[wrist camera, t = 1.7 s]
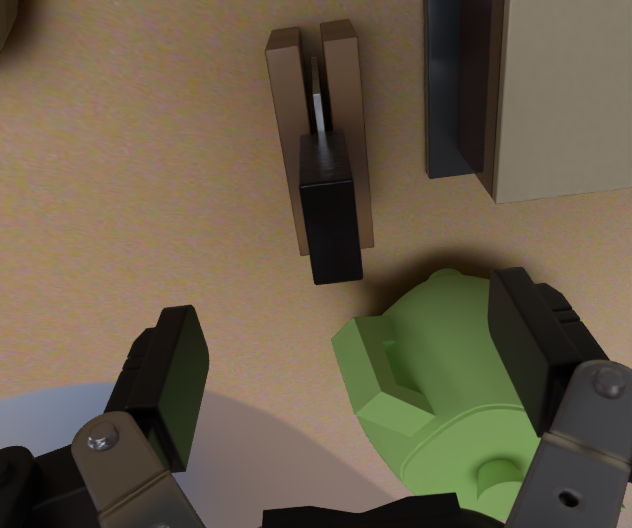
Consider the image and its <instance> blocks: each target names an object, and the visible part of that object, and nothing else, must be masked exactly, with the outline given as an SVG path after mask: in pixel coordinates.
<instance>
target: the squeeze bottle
mask: <svg viewBox="0 0 632 528" xmlns="http://www.w3.org/2000/svg"><path fill="white" fill-rule="evenodd" d="M17 15H18V1H17V0H0V52H1V50H2V48H3V46H4V44H5V41H6V39H7V37H8V35H9V33H10V30H11V28H12V26H13V24H14V21H15V19H16V17H17Z"/></svg>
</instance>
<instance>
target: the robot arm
mask: <svg viewBox="0 0 632 528" xmlns="http://www.w3.org/2000/svg"><path fill="white" fill-rule="evenodd" d="M487 318H488V327H489V332H490V336H491V338H492V341H493V343H494V345H495V347H496V349H497V352H498V354H499V356H500V358H501V360H502V362H503V364H504V367H505V369H506V371H507V373H508V375H509V377H510V379H511V382H512V384H513V386H514V388H515V390H516V392H517V394H518V397H519V399H520V401H521V403H522V405H523V407H524V410H525V412H526V414H527V416H528V418H529V420H530V422H531V425H532V427H533V429H534V431H535V433H536V435H537V437H538V438H541V440H540V442H539V445H538V447H537V450H536V452H535V454H534V457H533V459H532V461H531V464H530V466H529V469H528V471H527V473H526V476H525V478H524V480H523V483H522V485H521V487H520V490H519V492H518V495H517V497H516V499H515V502H514V504H513V506H512V509H511V511H510V514H509V516H508V518H507V521H506V523H505V524H504V523H502V522H501V521H499V520H497V519H495V518H493V517H491V516H488V515H486V514H483V513H481V512H477V511H474V510H470V509H465V508H460V505H459V501H458V498H457V494H456V492H451V493H441V494H430V495H420V496H409V497H405V498H403V499H400V500H397V501H395V502H392V503H389V504H386V505H383V506H380V507H378V508H375V509H372V510H369V511H366V512H363V513H351V512H345V511H339V510H333V509H326V508H320V507H314V506H304V507H292V508H282V509H271V510H263V520H262V526H261V527H259V528H616V527H617V523H618V519H619V515H620V511H621V507H622V503H623V499H624V495H625V491H626V487H627V483H628V482H630V483H632V369H631V368H629V367H627V366H625V365H623V364H620V363H617V362H613V361H610V359H609V358H608V357H607V355H606V354H605V353H604V351H603V350H602V348H601V347H600V346H599V344H598V343H597V341H596V340H595V339H594V337H593V336H592V335H591V333H590V332H589V330H588V329H587V328H586V326H585V325H584V323H583V322H582V321H580V318H579V317H578V315H577V314H576V312H575V311H574V310H572V307H571V305H570V304H569V303H568V301H567V300H566V299H565V297H564V296H563V294H562V293H560V292H558V291H557V290H555V289H554V288H552V287H551V286H549V285H548V284H546V283H541V284H534V283H533V281H532V280H531V278H530V277H529V275H528V274H527V272H526V271H525V269H524V268H523V267H513V268H505V269H496V270H492V271H491V274H490V284H489V299H488V315H487ZM127 357H128V359H126V361H125V363H124V366H123V368H122V369H123V371H121V373H120V375H119V377H118V380H117V382H116V385H115V387H114V389H113V392H112V394H111V396H110V399H109V401H108V403H107V406H106V408H105V410H104V413H103V414H101V415H99V416H97V417H95V418H93V419H92V420H90V421H89V422H87V423H86V424H85V425H84V426H83V427H82V428H81V429H80V430H79V431H78V432H77V434H76V435H75V437H74V439H73V441H72V444H70V445H68V446H65V447H63V448H60V449H57V450H54V451H52V452H49V453H46V454H43V455H41V456H38V457H36V458H34V456H33V455H32V454H31V452H30V451H29V450H28V449H27V448H25V447H22V446H11V447H6V448H3V449H0V528H206V527H205V525H204V524H203V522H202V521H201V519H200V518H199V516H198V514H197V513H196V511H195V510H194V508H193V506H192V505H191V503H190V502H189V500H188V499H187V497H186V496H185V494H184V493H183V491H182V489H181V488H180V486H179V485H178V483H177V482H176V480H175V478H174V477H173V475H172V474H171V473H176V472H185V471H186V468H187V464H188V459H189V455H190V450H191V446H192V441H193V437H194V432H195V428H196V423H197V419H198V414H199V410H200V405H201V401H202V397H203V392H204V388H205V383H206V379H207V374H208V370H209V352H208V347H207V344H206V341H205V338H204V335H203V332H202V329H201V326H200V323H199V320H198V317H197V314H196V311H195V308H194V307H193V306H192V305H184V306H176V307H167V308H164V309H163V310H162V312H161V315H160V317H159V320H158V322H157V325H156V327H153V328H146V329H145V330H144V331H143V333H142V334H141V335H140V336H139V337H138V338H137V339H136V340H135V341H134V342H133V344H132V347H131V349H130V352H129V354H128V356H127Z"/></svg>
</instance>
